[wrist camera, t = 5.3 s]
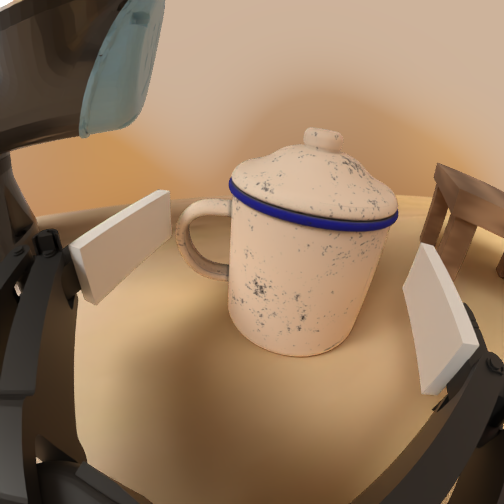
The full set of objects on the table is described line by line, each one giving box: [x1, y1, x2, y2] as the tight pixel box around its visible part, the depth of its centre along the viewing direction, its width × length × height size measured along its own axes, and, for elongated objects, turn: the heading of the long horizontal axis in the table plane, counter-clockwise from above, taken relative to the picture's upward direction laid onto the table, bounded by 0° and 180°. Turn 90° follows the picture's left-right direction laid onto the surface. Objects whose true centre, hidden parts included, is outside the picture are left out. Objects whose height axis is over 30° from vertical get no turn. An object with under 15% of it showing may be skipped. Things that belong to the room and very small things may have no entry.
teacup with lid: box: [175, 128, 398, 356], centre depth 15 cm, size 12×9×12 cm
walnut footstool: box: [420, 163, 504, 282], centre depth 20 cm, size 16×16×10 cm
